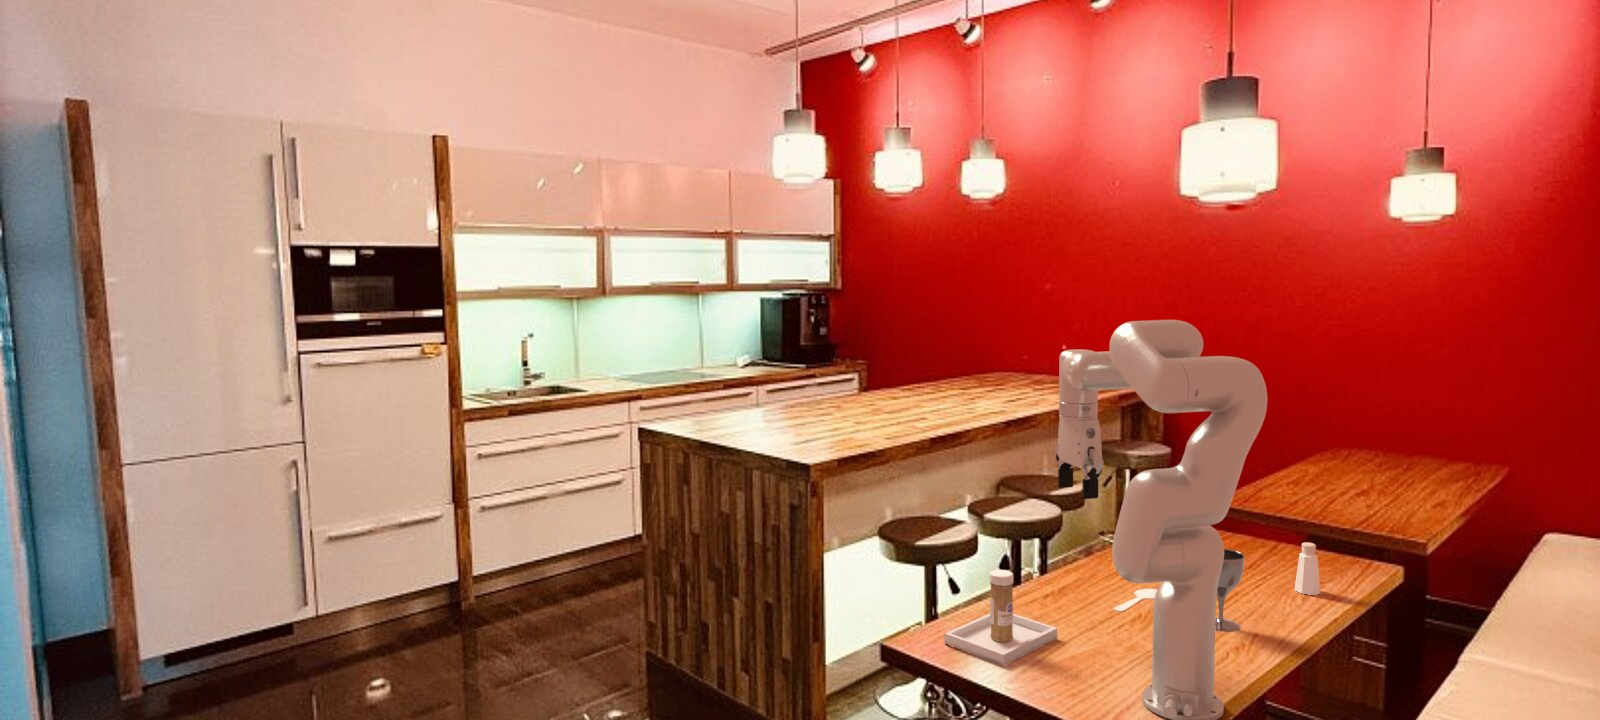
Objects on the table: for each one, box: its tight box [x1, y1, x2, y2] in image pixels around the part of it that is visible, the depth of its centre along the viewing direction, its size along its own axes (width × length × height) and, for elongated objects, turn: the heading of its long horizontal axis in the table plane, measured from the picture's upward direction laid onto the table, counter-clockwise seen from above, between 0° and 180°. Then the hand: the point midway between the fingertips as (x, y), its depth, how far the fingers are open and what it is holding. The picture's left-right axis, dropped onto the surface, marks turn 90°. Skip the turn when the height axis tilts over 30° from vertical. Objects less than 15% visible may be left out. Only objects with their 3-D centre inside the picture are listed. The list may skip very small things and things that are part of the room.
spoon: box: [1113, 588, 1157, 612], centre depth 197 cm, size 5×18×1 cm, turn 132°
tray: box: [944, 613, 1058, 667], centre depth 177 cm, size 18×14×2 cm
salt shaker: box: [1294, 541, 1321, 596], centre depth 200 cm, size 5×5×11 cm
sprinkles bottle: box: [989, 569, 1014, 642], centre depth 176 cm, size 5×5×14 cm
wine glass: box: [1215, 547, 1245, 633], centre depth 182 cm, size 8×8×15 cm
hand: (1077, 492), depth 183 cm, fingers open, 9 cm apart
